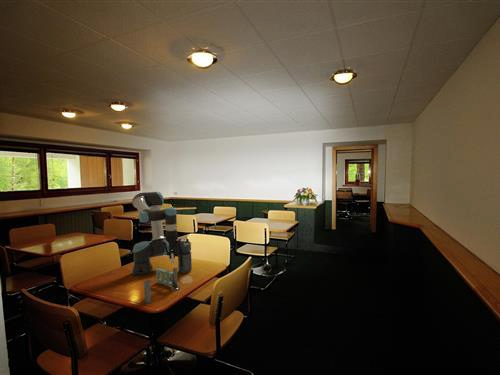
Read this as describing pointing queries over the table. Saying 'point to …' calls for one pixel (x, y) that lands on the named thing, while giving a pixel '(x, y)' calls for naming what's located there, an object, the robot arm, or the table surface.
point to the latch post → (147, 291)
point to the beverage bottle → (184, 257)
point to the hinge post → (175, 280)
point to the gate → (162, 279)
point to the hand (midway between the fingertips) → (172, 263)
